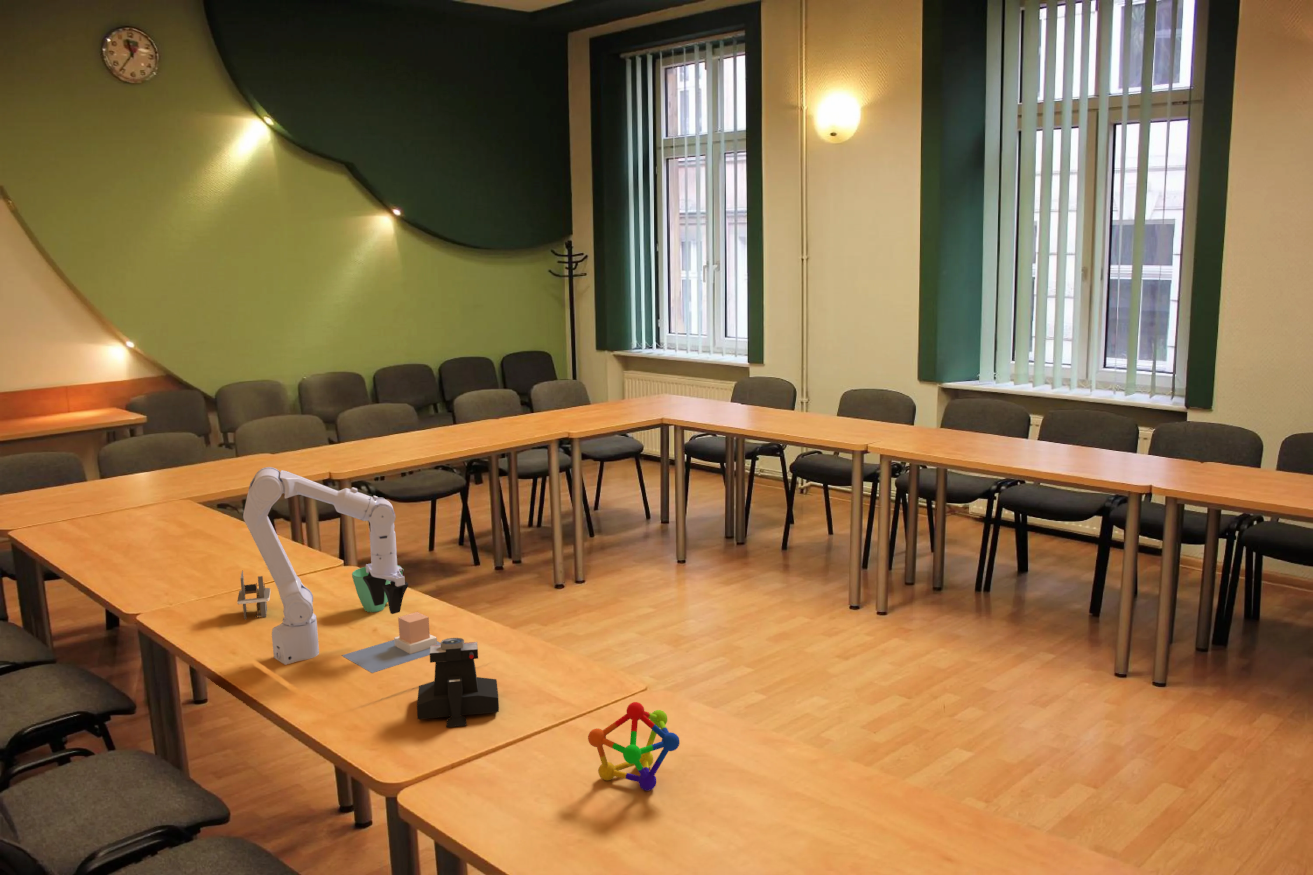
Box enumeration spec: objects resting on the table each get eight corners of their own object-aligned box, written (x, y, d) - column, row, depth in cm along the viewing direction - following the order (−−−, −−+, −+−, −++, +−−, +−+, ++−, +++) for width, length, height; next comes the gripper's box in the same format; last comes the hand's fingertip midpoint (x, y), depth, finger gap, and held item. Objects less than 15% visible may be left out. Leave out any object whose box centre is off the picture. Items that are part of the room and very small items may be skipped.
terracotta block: (410, 643, 247) (409, 622, 247) (399, 637, 251) (398, 617, 250) (429, 637, 251) (428, 617, 250) (418, 632, 254) (417, 611, 253)
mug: (371, 618, 272) (369, 580, 270) (346, 610, 278) (343, 573, 276) (416, 601, 284) (414, 565, 282) (391, 594, 289) (389, 558, 287)
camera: (494, 629, 226) (496, 650, 212) (497, 697, 228) (500, 721, 213) (416, 636, 224) (413, 657, 209) (419, 704, 225) (417, 729, 210)
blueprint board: (372, 676, 237) (371, 664, 236) (341, 658, 247) (340, 646, 246) (451, 651, 250) (450, 639, 249) (419, 635, 260) (418, 624, 259)
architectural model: (223, 607, 283) (219, 566, 281) (291, 599, 288) (287, 559, 286) (217, 631, 266) (213, 588, 264) (290, 623, 271) (286, 580, 269)
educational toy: (638, 815, 181) (630, 734, 177) (588, 788, 190) (578, 710, 186) (702, 774, 191) (695, 696, 187) (651, 750, 200) (644, 676, 196)
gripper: (415, 554, 246) (418, 612, 249) (383, 542, 257) (386, 597, 259) (387, 561, 242) (390, 619, 244) (356, 548, 252) (359, 604, 255)
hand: (387, 608), depth 252 cm, fingers open, 7 cm apart
